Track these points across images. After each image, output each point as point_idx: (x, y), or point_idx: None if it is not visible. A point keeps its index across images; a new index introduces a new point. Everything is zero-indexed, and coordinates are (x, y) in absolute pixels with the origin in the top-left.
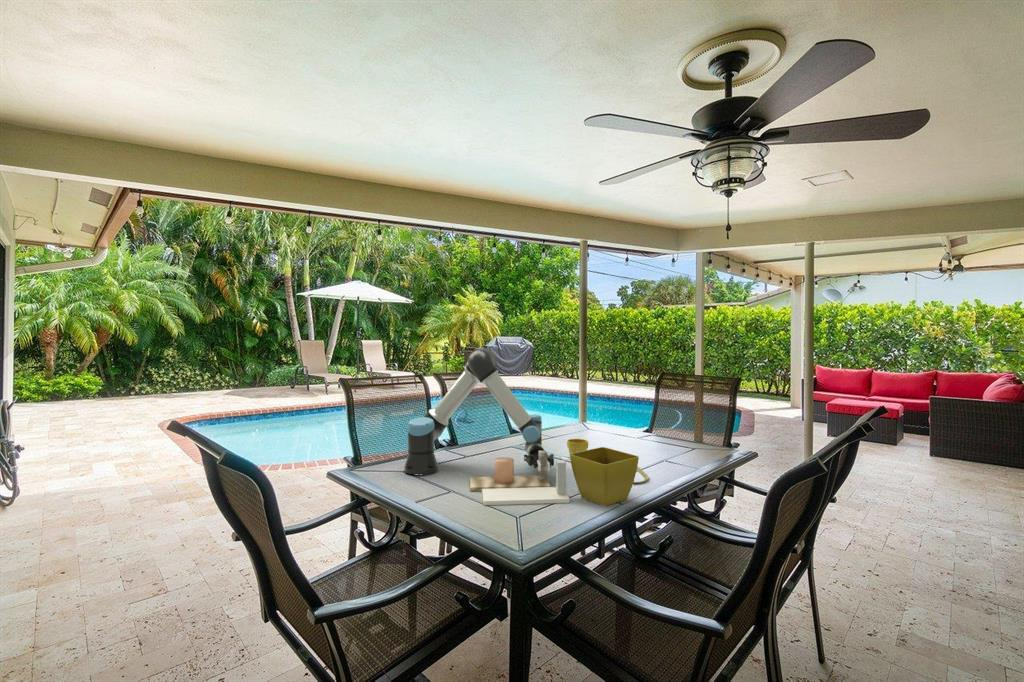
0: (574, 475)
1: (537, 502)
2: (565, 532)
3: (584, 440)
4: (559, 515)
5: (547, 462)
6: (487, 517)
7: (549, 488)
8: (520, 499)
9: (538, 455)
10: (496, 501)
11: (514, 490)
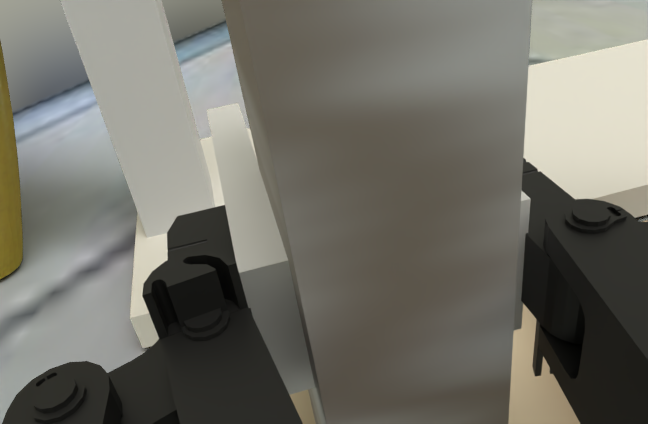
0: (5, 79)
1: None
2: (224, 40)
3: None
4: (232, 91)
5: (247, 156)
6: (542, 26)
7: None
8: None
9: (509, 108)
10: (587, 55)
11: (585, 157)
